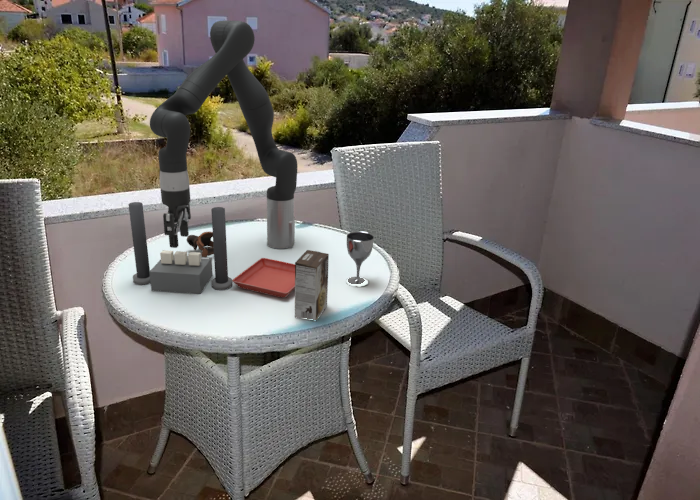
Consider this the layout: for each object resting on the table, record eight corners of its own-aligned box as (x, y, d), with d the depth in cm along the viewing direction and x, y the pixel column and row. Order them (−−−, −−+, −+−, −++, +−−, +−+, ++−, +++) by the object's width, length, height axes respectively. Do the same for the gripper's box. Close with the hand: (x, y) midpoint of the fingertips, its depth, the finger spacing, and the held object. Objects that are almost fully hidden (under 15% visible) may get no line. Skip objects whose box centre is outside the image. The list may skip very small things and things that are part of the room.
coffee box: (306, 302, 145) (307, 249, 138) (327, 306, 143) (329, 252, 137) (293, 317, 137) (293, 262, 130) (316, 322, 135) (317, 266, 129)
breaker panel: (212, 275, 157) (211, 256, 155) (200, 293, 146) (199, 274, 144) (167, 272, 157) (165, 253, 155) (151, 290, 146) (149, 270, 144)
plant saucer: (287, 303, 144) (287, 292, 143) (231, 290, 150) (230, 280, 149) (313, 277, 160) (314, 267, 159) (262, 266, 166) (262, 257, 164)
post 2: (234, 281, 154) (231, 206, 145) (229, 290, 149) (226, 213, 140) (214, 280, 154) (210, 205, 145) (208, 289, 149) (204, 211, 140)
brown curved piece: (223, 247, 179) (226, 232, 173) (217, 268, 172) (219, 253, 166) (188, 238, 177) (190, 222, 171) (180, 259, 170) (182, 244, 164)
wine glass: (373, 279, 160) (377, 234, 155) (365, 289, 153) (369, 243, 148) (349, 274, 163) (351, 229, 157) (340, 284, 156) (343, 238, 150)
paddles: (202, 262, 150) (201, 252, 149) (200, 265, 148) (199, 255, 147) (162, 260, 150) (161, 250, 149) (160, 263, 148) (159, 252, 147)
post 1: (158, 276, 155) (150, 201, 145) (150, 285, 149) (141, 208, 140) (138, 275, 155) (129, 200, 146) (129, 284, 149) (119, 206, 140)
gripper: (179, 194, 134) (184, 252, 140) (196, 180, 147) (200, 233, 153) (150, 192, 134) (156, 250, 140) (170, 178, 147) (175, 231, 153)
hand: (179, 241), depth 147 cm, fingers open, 8 cm apart
